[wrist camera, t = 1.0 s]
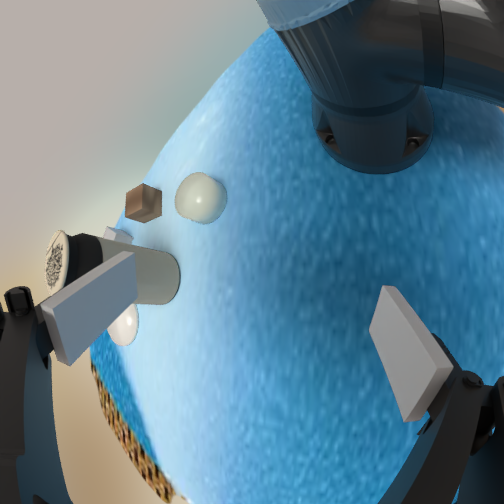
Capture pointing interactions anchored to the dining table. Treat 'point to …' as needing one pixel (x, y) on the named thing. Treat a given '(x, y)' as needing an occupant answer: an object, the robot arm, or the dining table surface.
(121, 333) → the saucer
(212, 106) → the dining table surface
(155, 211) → the walnut block
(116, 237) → the grey cube
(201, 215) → the beige rounded cylinder
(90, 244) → the travel mug
